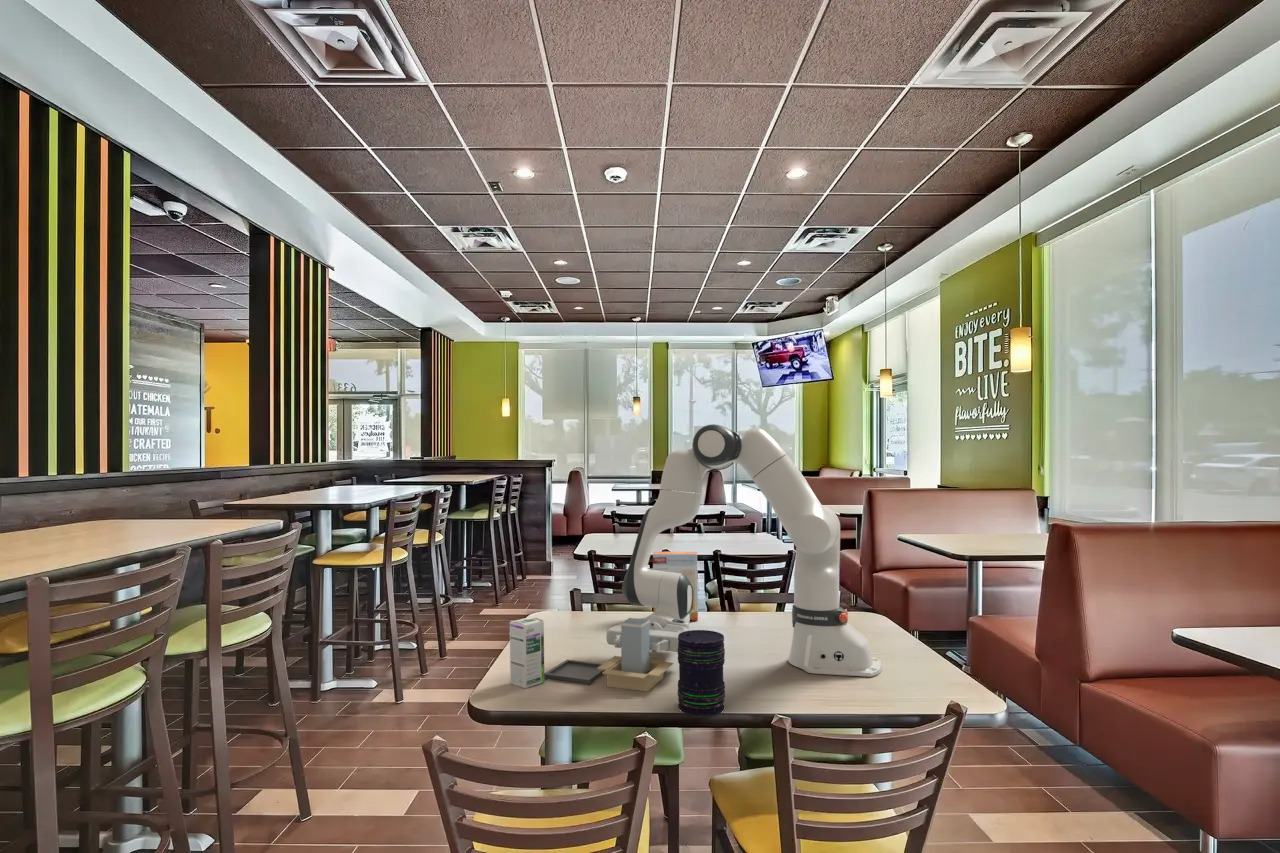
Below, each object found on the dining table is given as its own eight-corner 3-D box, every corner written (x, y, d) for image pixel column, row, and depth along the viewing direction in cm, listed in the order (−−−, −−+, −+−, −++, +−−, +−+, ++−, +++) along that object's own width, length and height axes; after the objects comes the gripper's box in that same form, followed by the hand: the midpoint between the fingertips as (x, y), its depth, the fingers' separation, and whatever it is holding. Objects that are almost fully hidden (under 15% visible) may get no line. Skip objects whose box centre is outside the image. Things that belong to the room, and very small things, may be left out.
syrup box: (525, 689, 161) (525, 624, 161) (509, 683, 165) (509, 620, 165) (544, 682, 165) (544, 619, 165) (528, 677, 169) (528, 615, 169)
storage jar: (731, 703, 152) (730, 632, 152) (716, 720, 143) (716, 644, 143) (687, 696, 156) (686, 628, 156) (670, 712, 147) (670, 639, 147)
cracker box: (698, 616, 228) (697, 551, 228) (697, 621, 222) (697, 553, 222) (654, 616, 229) (654, 550, 229) (652, 620, 223) (652, 553, 223)
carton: (676, 675, 170) (676, 659, 170) (654, 696, 156) (654, 679, 156) (619, 668, 175) (618, 653, 175) (592, 688, 161) (592, 671, 161)
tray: (610, 669, 174) (610, 664, 174) (589, 685, 163) (589, 679, 163) (567, 664, 179) (567, 659, 179) (543, 678, 168) (543, 673, 168)
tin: (649, 679, 167) (649, 619, 167) (641, 686, 162) (641, 624, 163) (629, 677, 169) (629, 617, 169) (621, 684, 164) (621, 622, 164)
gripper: (618, 615, 183) (595, 628, 170) (695, 622, 175) (676, 637, 162) (618, 640, 183) (595, 655, 170) (695, 648, 175) (676, 665, 162)
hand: (635, 646), depth 166 cm, fingers open, 8 cm apart
